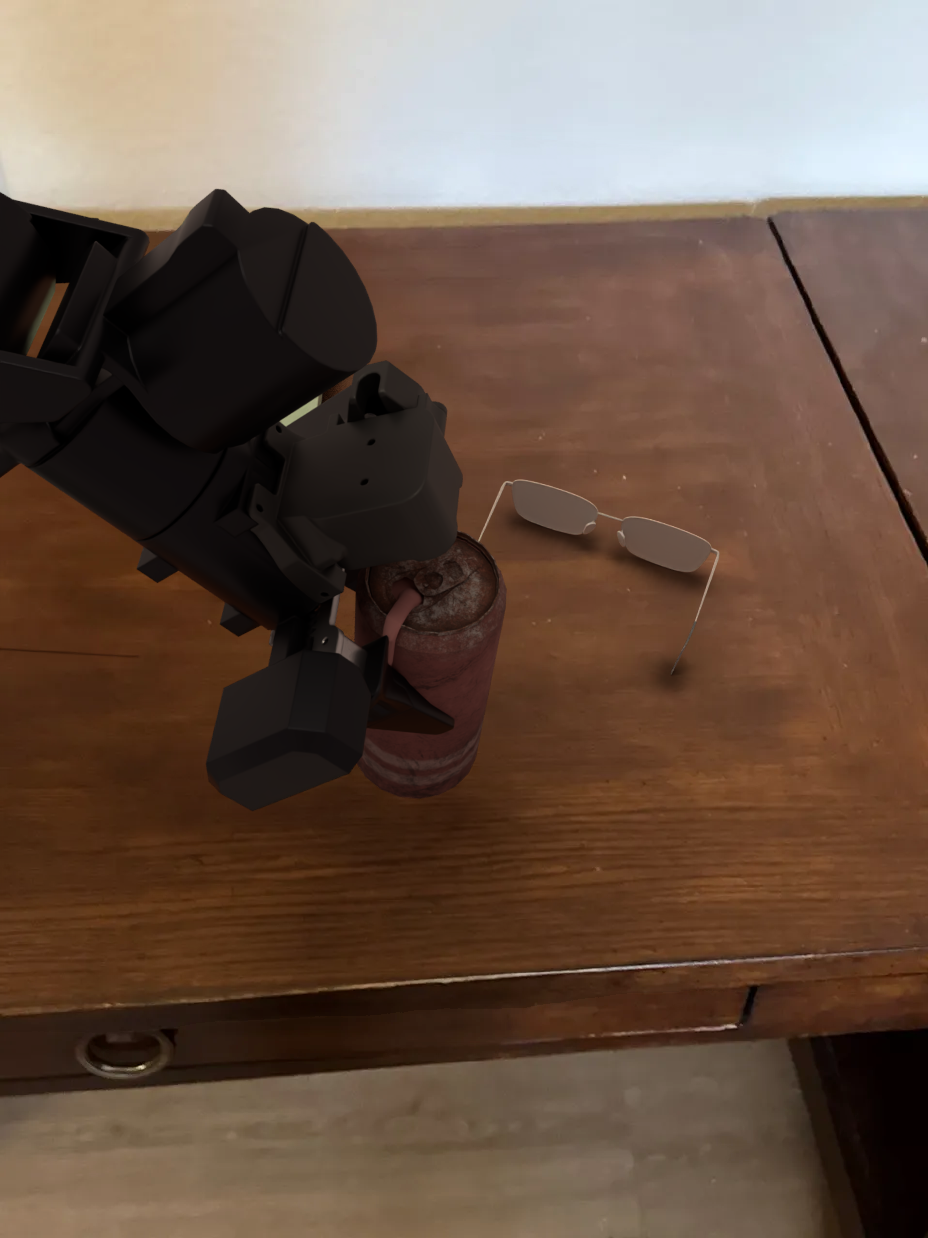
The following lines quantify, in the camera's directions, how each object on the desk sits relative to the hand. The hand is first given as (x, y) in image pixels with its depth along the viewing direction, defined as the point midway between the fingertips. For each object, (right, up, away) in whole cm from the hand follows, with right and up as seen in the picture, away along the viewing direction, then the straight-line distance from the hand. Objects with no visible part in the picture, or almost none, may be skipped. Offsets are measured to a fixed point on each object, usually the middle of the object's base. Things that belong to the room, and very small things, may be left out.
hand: (451, 678), depth 54 cm
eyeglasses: (+8, +4, +21) cm, 23 cm away
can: (-2, -4, +6) cm, 7 cm away
